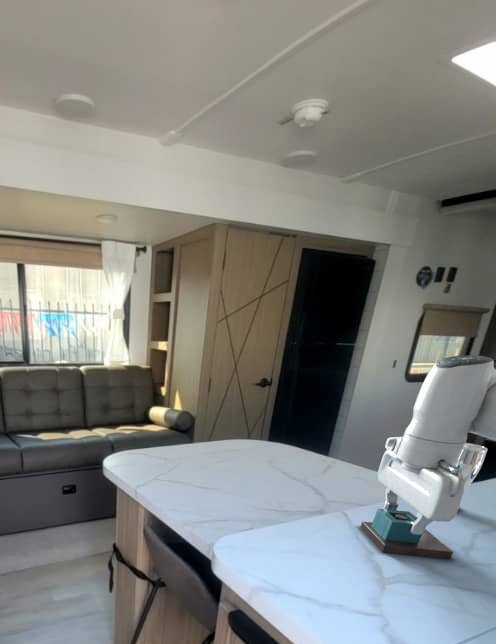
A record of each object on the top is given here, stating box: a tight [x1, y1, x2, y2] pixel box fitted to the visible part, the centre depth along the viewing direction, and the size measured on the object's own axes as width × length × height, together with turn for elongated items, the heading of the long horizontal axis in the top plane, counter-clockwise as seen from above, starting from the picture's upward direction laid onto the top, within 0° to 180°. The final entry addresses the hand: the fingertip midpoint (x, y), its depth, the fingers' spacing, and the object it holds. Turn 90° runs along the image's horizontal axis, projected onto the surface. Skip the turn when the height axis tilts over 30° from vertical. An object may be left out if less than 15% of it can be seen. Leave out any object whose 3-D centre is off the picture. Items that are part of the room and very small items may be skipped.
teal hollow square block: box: [372, 508, 427, 544], centre depth 79 cm, size 6×6×4 cm
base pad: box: [359, 514, 454, 560], centre depth 79 cm, size 12×10×6 cm
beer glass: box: [455, 442, 488, 511], centre depth 95 cm, size 7×7×15 cm
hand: (401, 521), depth 78 cm, fingers open, 8 cm apart
